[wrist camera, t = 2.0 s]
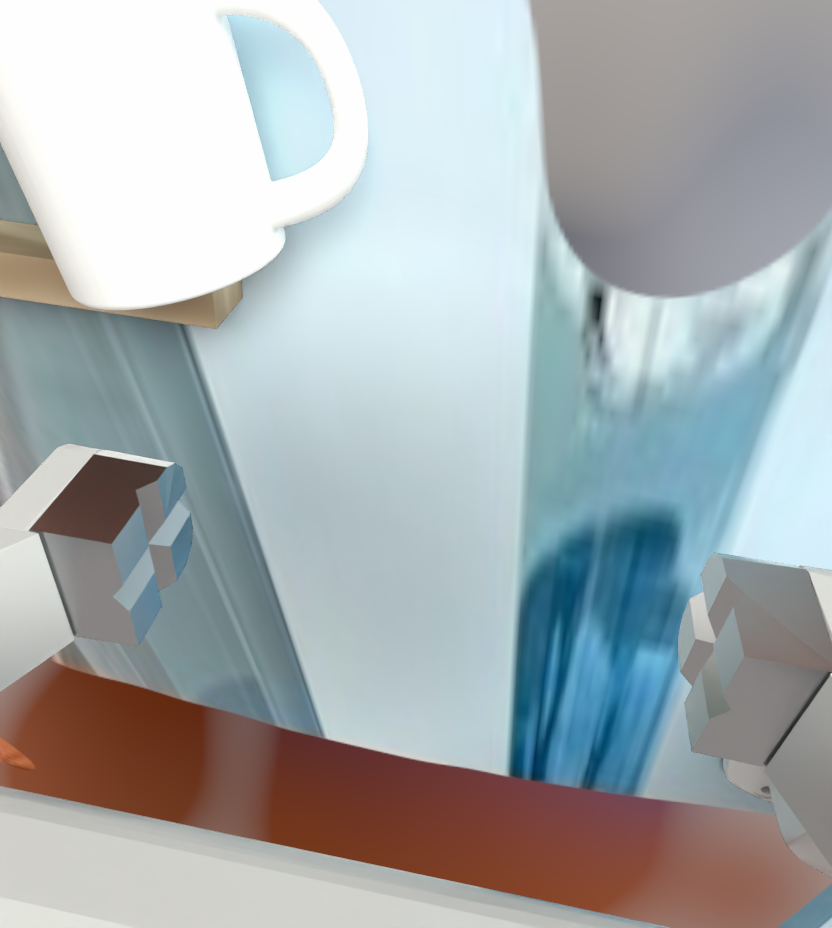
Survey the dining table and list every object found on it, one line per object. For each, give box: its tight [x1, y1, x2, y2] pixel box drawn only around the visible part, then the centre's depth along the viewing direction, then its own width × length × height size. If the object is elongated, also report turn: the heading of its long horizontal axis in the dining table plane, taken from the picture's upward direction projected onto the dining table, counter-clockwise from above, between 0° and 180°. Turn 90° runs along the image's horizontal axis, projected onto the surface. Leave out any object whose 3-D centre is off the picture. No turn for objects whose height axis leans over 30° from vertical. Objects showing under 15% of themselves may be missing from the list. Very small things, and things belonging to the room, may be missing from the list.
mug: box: [0, 0, 368, 310], centre depth 24 cm, size 12×10×8 cm
